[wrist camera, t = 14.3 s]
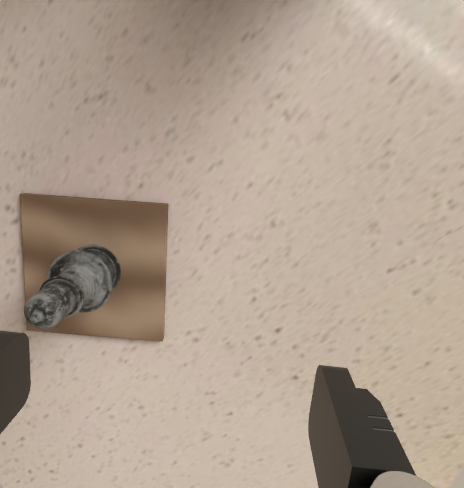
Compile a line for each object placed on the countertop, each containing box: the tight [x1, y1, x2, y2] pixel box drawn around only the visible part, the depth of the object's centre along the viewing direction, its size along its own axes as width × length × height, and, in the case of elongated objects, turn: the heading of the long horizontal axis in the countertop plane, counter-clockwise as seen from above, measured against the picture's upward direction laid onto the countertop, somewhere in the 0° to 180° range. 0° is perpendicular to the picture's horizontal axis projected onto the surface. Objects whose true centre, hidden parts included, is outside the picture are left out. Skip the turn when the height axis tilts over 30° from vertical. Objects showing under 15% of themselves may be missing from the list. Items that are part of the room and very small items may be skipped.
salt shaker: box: [24, 244, 121, 329], centre depth 34 cm, size 6×6×12 cm
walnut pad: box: [20, 193, 168, 341], centre depth 41 cm, size 14×14×1 cm
